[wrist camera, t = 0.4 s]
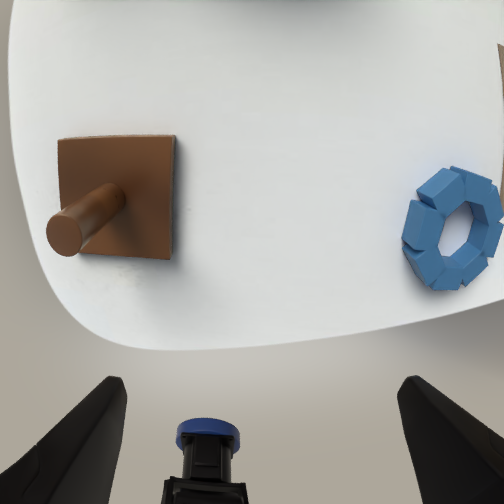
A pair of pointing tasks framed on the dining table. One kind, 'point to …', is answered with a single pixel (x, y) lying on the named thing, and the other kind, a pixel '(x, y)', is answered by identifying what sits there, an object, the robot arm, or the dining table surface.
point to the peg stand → (115, 196)
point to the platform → (503, 61)
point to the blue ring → (432, 221)
